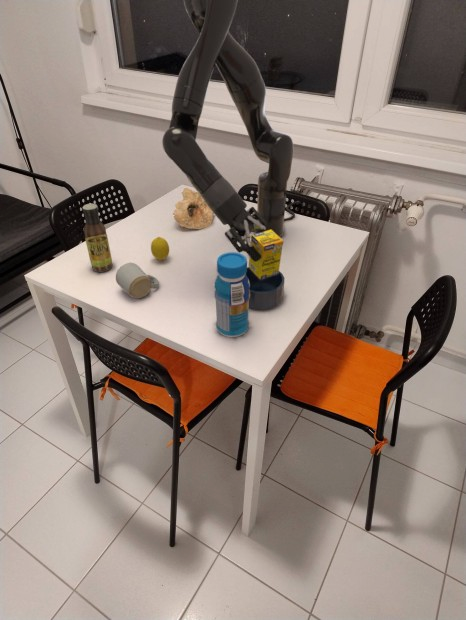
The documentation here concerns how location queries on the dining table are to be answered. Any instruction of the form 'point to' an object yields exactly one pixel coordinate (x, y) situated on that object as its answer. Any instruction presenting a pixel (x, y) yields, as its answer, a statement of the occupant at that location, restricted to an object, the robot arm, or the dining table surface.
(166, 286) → the dining table surface
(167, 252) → the lemon
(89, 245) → the sauce bottle
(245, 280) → the beverage bottle
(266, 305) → the dark blue bowl
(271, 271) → the supplement box
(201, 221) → the tan lumpy rounded piece
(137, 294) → the ceramic mug
